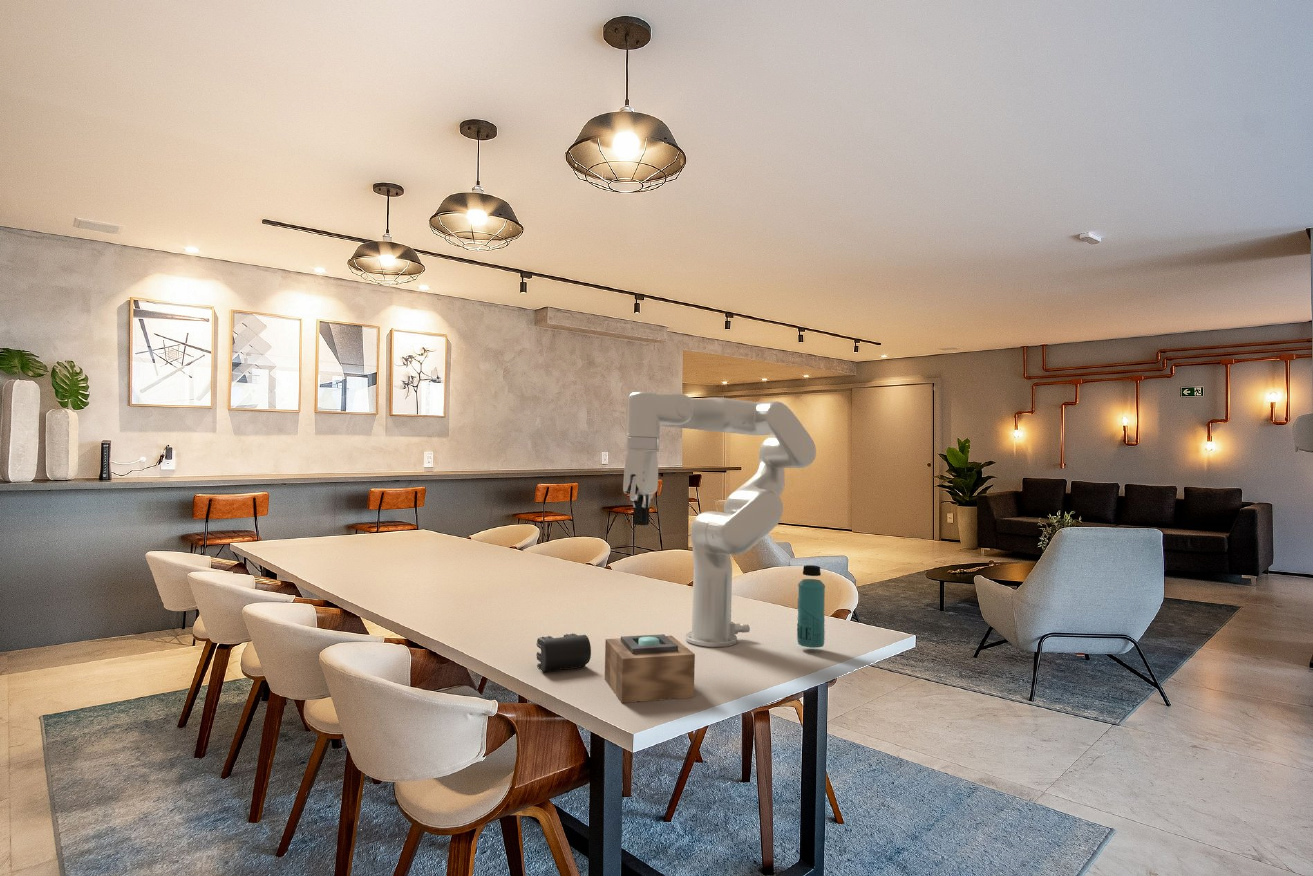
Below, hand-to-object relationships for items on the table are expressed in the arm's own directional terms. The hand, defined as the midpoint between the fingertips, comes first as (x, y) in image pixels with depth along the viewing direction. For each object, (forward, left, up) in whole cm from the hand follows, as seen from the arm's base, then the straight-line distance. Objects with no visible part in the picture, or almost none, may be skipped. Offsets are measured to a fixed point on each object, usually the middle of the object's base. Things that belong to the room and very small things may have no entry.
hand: (641, 524), depth 163 cm
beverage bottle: (-40, +8, -29) cm, 50 cm away
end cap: (+19, +9, -29) cm, 36 cm away
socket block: (+5, +25, -29) cm, 39 cm away
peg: (+5, +25, -29) cm, 38 cm away
